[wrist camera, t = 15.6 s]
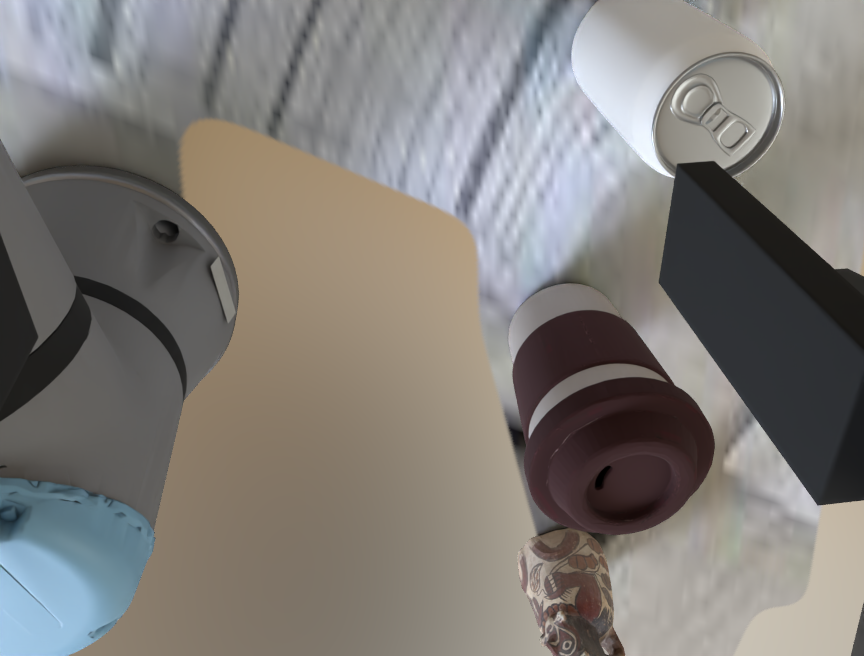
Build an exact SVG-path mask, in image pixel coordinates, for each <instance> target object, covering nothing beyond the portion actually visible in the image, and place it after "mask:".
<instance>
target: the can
mask: <svg viewBox="0 0 864 656" xmlns="http://www.w3.org/2000/svg"><path fill="white" fill-rule="evenodd" d="M571 58H572V68H573V72H574V75H575V78H576V80H577V83H578V84H579V86H580V88H581V89H582V91H583V92H584V93H585V94H586V96H587V97H588V98H589V99H590V101H591V102H592V103H593V104H594V105H595V106H596V108H597V109H598V110H599V111H600V112H601V113H602V114H603V116H604V117H605V118H606V119H607V120H608V121H609V123H610V124H611V125H612V126H613V127H614V128H615V129H616V131H617V132H618V133H619V134H620V135H621V136H622V137H623V139H624V140H625V141H626V142H627V143H628V144H629V145H630V146H631V148H632V149H633V150H634V151H635V152H636V153H637V154H638V155H639V156H640V157H641V158H642V159H643V160H644V161H645V162H646V163H647V164H648V165H649V166H650V167H652V168H653V169H654V170H656V171H658V172H659V173H661V174H663V175H666V176H669V177H672V178H675V174H676V167H677V163H691V162H704V161H715V162H716V163H717V164H718V165H719V166H720V167H721V168H723V169H724V170H725V171H726V172H727V173H728V174H729V175H730V176H731V177H733V178H734V177H736V176H738V175H740V174H741V173H743V172H745V171H746V170H748V169H749V168H750V167H752V166H753V165H754V164H755V163H756V162H757V161H759V160H760V159H761V157H762V156H763V155H764V154H765V153H766V152H767V151H768V149H769V148H770V146H771V145H772V143H773V142H774V140H775V138H776V136H777V135H778V132H779V130H780V127H781V125H782V121H783V117H784V112H785V93H784V88H783V85H782V82H781V80H780V78H779V76H778V74H777V73H776V71H775V70H774V68H773V65H772V63H771V61H770V59H769V57H768V56H767V55H766V53H765V52H764V51H763V50H762V49H761V48H760V47H759V46H758V45H757V44H756V43H755V42H753V41H752V40H751V39H749V38H748V37H746V36H744V35H743V34H741V33H739V32H738V31H736V30H734V29H733V28H731V27H729V26H727V25H726V24H724V23H722V22H720V21H719V20H717V19H715V18H713V17H712V16H710V15H708V14H706V13H705V12H703V11H701V10H699V9H698V8H696V7H694V6H692V5H690V4H689V3H687V2H685V1H683V0H598V1H597V2H596V3H595V4H594V5H593V6H592V7H591V9H590V10H589V11H588V12H587V14H586V15H585V17H584V18H583V20H582V22H581V24H580V25H579V27H578V29H577V32H576V34H575V37H574V41H573V45H572V55H571Z"/></svg>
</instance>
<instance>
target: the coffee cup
mask: <svg viewBox="0 0 864 656" xmlns="http://www.w3.org/2000/svg"><path fill="white" fill-rule="evenodd" d="M508 342H509V348H510V352H511V357H512V362H513V384H514V389H515V394H516V399H517V404H518V409H519V414H520V418H521V423H522V428H523V433H524V438H525V442H526V450H525V455H524V469H525V475H526V478H527V482H528V485H529V489H530V492H531V495H532V497H533V500H534V501H535V503H536V505H537V506H538V507H539V508H540V510H541V511H542V512H543V513H544V514H545V515H547V516H548V517H549V518H550V519H552V520H553V521H555V522H557V523H559V524H561V525H563V526H566V527H568V528H571V529H575V530H579V531H584V532H595V533H602V534H610V535H621V534H630V533H635V532H639V531H643V530H646V529H649V528H651V527H654V526H656V525H658V524H660V523H661V522H663V521H665V520H667V519H668V518H670V517H671V516H672V515H674V514H675V513H676V512H677V511H679V509H680V508H681V507H682V506H683V505H684V504H685V503H686V501H687V500H688V499H689V498H690V496H691V495H692V494H693V493H694V492H695V491H696V490H697V489H698V488H699V486H700V485H701V484H702V482H703V481H704V479H705V478H706V476H707V473H708V471H709V469H710V467H711V465H712V460H713V455H714V449H715V442H714V436H713V432H712V429H711V426H710V424H709V422H708V421H707V419H706V418H705V416H704V414H703V413H702V411H701V409H700V408H699V406H698V405H697V403H696V402H695V401H694V400H693V399H692V398H691V397H690V396H689V395H688V394H687V393H686V392H684V391H683V390H682V389H680V388H678V387H676V386H675V385H674V383H673V382H672V380H671V379H670V377H669V376H668V375H667V373H666V372H665V370H664V369H663V368H662V366H661V365H660V364H659V362H658V361H657V359H656V358H655V357H654V355H653V354H652V353H651V351H650V350H649V348H648V347H647V346H646V344H645V343H644V342H643V340H642V339H641V338H640V336H639V335H638V333H637V332H636V331H635V329H634V328H633V327H632V326H631V325H630V324H629V323H627V322H626V321H625V320H623V319H622V317H621V316H620V314H619V313H618V312H617V310H616V309H615V307H614V306H613V305H612V303H611V302H610V301H609V299H608V298H607V297H606V296H605V295H603V294H602V293H601V292H599V291H598V290H596V289H594V288H592V287H589V286H586V285H582V284H574V283H567V284H558V285H554V286H550V287H547V288H545V289H543V290H541V291H538V292H537V293H535V294H534V295H532V296H531V297H529V298H528V299H527V300H526V301H525V302H524V303H523V304H522V305H521V306H520V307H519V309H518V310H517V311H516V313H515V315H514V317H513V319H512V321H511V324H510V327H509V334H508Z"/></svg>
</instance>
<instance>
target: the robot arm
mask: <svg viewBox="0 0 864 656" xmlns="http://www.w3.org/2000/svg"><path fill="white" fill-rule="evenodd" d="M659 284H660V285H661V286H662V288H663V289H664V291H665V292H666V293H667V295H668V296H669V298H670V299H671V300H672V302H673V303H674V305H675V306H676V308H677V309H678V310H679V312H680V313H681V315H682V316H683V317H684V319H685V320H686V322H687V323H688V324H689V326H690V327H691V329H692V330H693V331H694V333H695V334H696V336H697V337H698V338H699V340H700V341H701V343H702V344H703V345H704V347H705V348H706V350H707V351H708V352H709V354H710V355H711V357H712V358H713V359H714V361H715V362H716V364H717V365H718V366H719V368H720V369H721V371H722V372H723V373H724V375H725V376H726V378H727V379H728V380H729V382H730V383H731V385H732V386H733V387H734V389H735V390H736V392H737V393H738V394H739V396H740V397H741V399H742V400H743V401H744V403H745V404H746V406H747V407H748V408H749V410H750V411H751V413H752V414H753V415H754V417H755V418H756V420H757V421H758V422H759V424H760V425H761V427H762V428H763V429H764V431H765V432H766V434H767V435H768V436H769V438H770V439H771V441H772V442H773V443H774V445H775V446H776V448H777V449H778V450H779V452H780V453H781V455H782V456H783V457H784V459H785V460H786V462H787V463H788V464H789V466H790V467H791V469H792V470H793V471H794V473H795V474H796V476H797V477H798V478H799V480H800V481H801V483H802V484H803V485H804V487H805V488H806V490H807V491H808V492H809V494H810V495H811V497H812V498H813V499H814V501H815V502H816V504H817V505H826V504H834V503H843V502H852V501H861V500H864V276H862V275H859V274H857V273H855V272H853V271H851V270H849V269H834V268H832V267H831V266H830V265H829V264H828V263H827V262H826V261H825V260H824V259H822V258H821V257H820V256H819V255H818V254H817V253H816V252H815V251H814V250H812V249H811V248H810V247H809V246H808V245H807V244H806V243H805V242H804V241H802V240H801V239H800V238H799V237H798V236H797V235H796V234H795V233H794V232H793V231H791V230H790V229H789V228H788V227H787V226H786V225H785V224H784V223H783V222H781V221H780V220H779V219H778V218H777V217H776V216H775V215H774V214H773V213H771V212H770V211H769V210H768V209H767V208H766V207H765V206H764V205H763V204H761V203H760V202H759V201H758V200H757V199H756V198H755V197H754V196H753V195H751V194H750V193H749V192H748V191H747V190H746V189H745V188H744V187H743V186H741V185H740V184H739V183H738V182H737V181H736V180H735V179H734V178H733V177H731V176H730V175H729V174H728V173H727V172H726V171H725V170H724V169H723V168H721V167H720V166H719V165H718V164H717V163H716V162H715V161H704V162H691V163H677V167H676V174H675V180H674V187H673V193H672V200H671V206H670V213H669V219H668V226H667V232H666V239H665V245H664V252H663V258H662V265H661V271H660V278H659ZM238 298H239V290H238V281H237V275H236V271H235V267H234V264H233V261H232V259H231V256H230V254H229V252H228V250H227V248H226V246H225V244H224V242H223V241H222V239H221V238H220V236H219V235H218V233H217V232H216V231H215V229H214V228H213V226H212V225H211V224H210V223H209V222H208V221H207V220H206V218H205V217H204V216H203V215H202V214H201V213H200V212H198V211H197V210H196V209H195V208H194V207H193V206H192V205H190V204H189V203H188V202H187V201H185V200H184V199H183V198H181V197H180V196H178V195H177V194H175V193H174V192H172V191H170V190H169V189H167V188H165V187H163V186H161V185H160V184H157V183H155V182H153V181H151V180H149V179H146V178H144V177H141V176H138V175H135V174H132V173H129V172H125V171H121V170H117V169H111V168H106V167H97V166H65V167H57V168H52V169H46V170H43V171H39V172H36V173H33V174H30V175H28V176H25V177H23V178H20V176H19V174H18V172H17V170H16V168H15V166H14V165H13V163H12V161H11V159H10V157H9V155H8V153H7V151H6V149H5V147H4V145H3V143H2V141H1V139H0V656H68V655H70V654H73V653H75V652H77V651H79V650H81V649H83V648H85V647H86V646H88V645H90V644H92V643H93V642H95V641H96V640H98V639H99V638H100V637H102V636H103V635H104V634H105V633H107V632H108V631H109V630H110V629H111V628H112V627H113V626H114V625H115V624H116V622H117V620H118V619H119V618H121V617H122V615H123V613H124V612H125V611H126V610H127V609H128V607H129V605H130V603H131V601H132V599H133V597H134V594H135V592H136V589H137V586H138V584H139V581H140V578H141V576H142V573H143V570H144V567H145V565H146V562H147V560H148V559H149V557H150V556H151V554H152V552H153V547H154V541H155V537H153V536H154V533H155V532H154V526H155V523H156V518H157V514H158V510H159V505H160V501H161V497H162V493H163V488H164V484H165V480H166V475H167V471H168V467H169V462H170V458H171V454H172V449H173V445H174V441H175V437H176V432H177V428H178V424H179V419H180V415H181V411H182V406H183V402H184V400H185V399H186V397H187V396H188V395H189V394H190V393H191V391H193V389H194V388H195V387H196V386H197V385H198V383H199V382H200V381H201V380H202V379H203V378H204V377H205V376H206V375H207V374H208V373H209V372H210V371H211V370H212V369H213V367H214V366H215V365H216V364H217V362H218V361H219V360H220V359H221V357H222V356H223V354H224V352H225V350H226V349H227V347H228V345H229V342H230V340H231V337H232V333H233V330H234V326H235V320H236V315H237V308H238ZM851 656H864V604H863V608H862V612H861V616H860V620H859V625H858V628H857V633H856V637H855V641H854V645H853V649H852V653H851Z"/></svg>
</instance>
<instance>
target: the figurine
mask: <svg viewBox="0 0 864 656" xmlns="http://www.w3.org/2000/svg"><path fill="white" fill-rule="evenodd" d="M518 566H519V569H518V570H519V578H520V582H521V586H522V589H523V590H524V592H525V593H526V595H527V597H528V599H529V601H530V604H531V606H532V609H533V611H534V614H535V617H536V620H537V623H538V626H539V629H540V631H541V633H542V636H541V637H540V642H541V644H542V645H543V646H547V647H548V648H549V650H550V651H551V653H552V654H553V656H625V652H624V648H623V646H622V644H621V642H620V640H619V638H618V636H617V634H616V632H615V630H614V628H613V615H614V609H613V599H612V589H611V582H610V577H609V571H608V565H607V561H606V558H605V555H604V553H603V551H602V549H601V546H600V544H599V543H598V542H597V540H596V539H594V538H593V537H592V536H591V535H589V534H588V533H587V532H584V531H579V530H575V529H571V528H566V529H561V530H555V531H552V532H549V533H546V534H544V535H540V536H536V537H533V538H531V539H529V541H528V542H527V543H526V545H525V546H524V547H523V548H522V549H521V550H520V551H519V552H518ZM602 647H603V648H604V649H605V650H606V651H607V652H608V653H609V655H606V654H605V653H604V651H603V649H602Z"/></svg>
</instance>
